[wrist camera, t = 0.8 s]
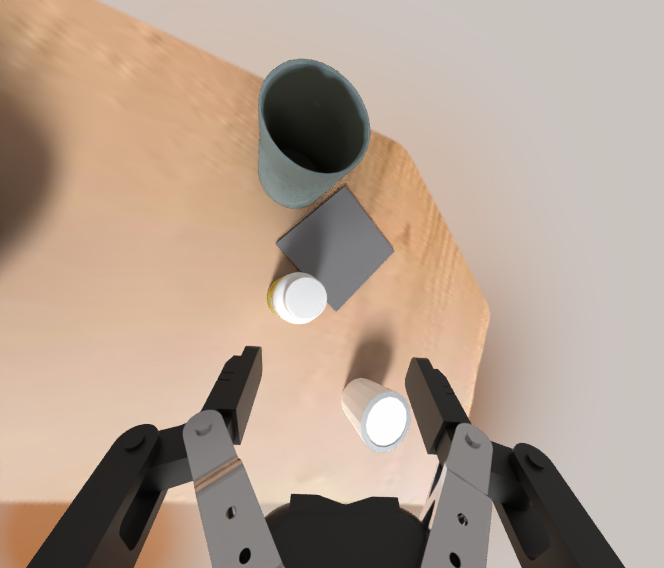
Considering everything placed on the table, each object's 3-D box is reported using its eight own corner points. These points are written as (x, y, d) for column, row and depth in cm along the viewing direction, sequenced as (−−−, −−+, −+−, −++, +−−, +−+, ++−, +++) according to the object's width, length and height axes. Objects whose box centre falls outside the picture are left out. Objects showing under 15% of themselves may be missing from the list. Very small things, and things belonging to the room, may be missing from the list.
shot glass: (331, 385, 33) (354, 408, 26) (373, 365, 35) (403, 381, 29) (344, 431, 33) (370, 465, 27) (385, 409, 36) (417, 434, 29)
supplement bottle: (297, 269, 32) (321, 260, 23) (314, 307, 32) (343, 312, 23) (258, 286, 30) (267, 283, 21) (276, 325, 31) (292, 339, 21)
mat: (335, 311, 34) (336, 311, 33) (275, 244, 31) (276, 243, 30) (392, 251, 37) (394, 251, 37) (343, 187, 35) (345, 185, 34)
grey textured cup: (325, 147, 34) (367, 75, 23) (329, 218, 34) (374, 181, 23) (248, 134, 30) (255, 41, 19) (253, 214, 30) (262, 168, 19)
